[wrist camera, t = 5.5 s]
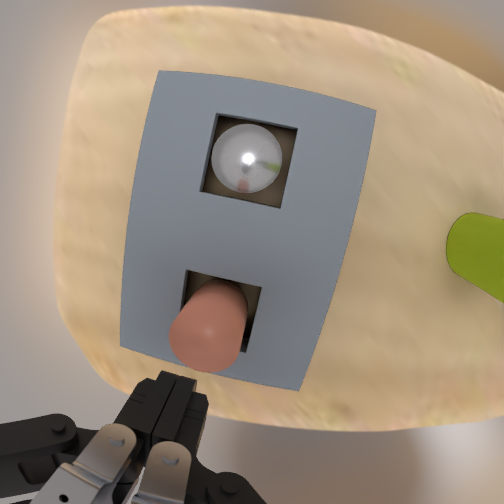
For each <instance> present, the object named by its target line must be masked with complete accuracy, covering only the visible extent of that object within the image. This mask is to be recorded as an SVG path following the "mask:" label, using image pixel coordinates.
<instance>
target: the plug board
mask: <svg viewBox="0 0 504 504" xmlns="http://www.w3.org/2000/svg"><path fill="white" fill-rule="evenodd" d="M218 115H220V116H227V117H233V118H239V119H244V120H250V121H255V122H261V123H266V124H271V125H276V126H280V127H285V128H289V129H294V130H297V134H296V139H295V143H294V148H293V153H292V157H291V162H290V166H289V171H288V175H287V180H286V184H285V189H284V193H283V198H282V202H281V207H280V208H278V207H274V206H269V205H265V204H260V203H256V202H251V201H247V200H242V199H237V198H232V197H228V196H223V195H218V194H213V193H208V192H203V191H202V190H203V185H204V180H205V175H206V170H207V165H208V160H209V156H210V151H211V146H212V142H213V137H214V133H215V128H216V124H217V120H218ZM375 116H376V110H373V109H370V108H367V107H364V106H361V105H358V104H354V103H351V102H348V101H344V100H341V99H337V98H334V97H330V96H326V95H322V94H318V93H314V92H310V91H306V90H302V89H297V88H293V87H288V86H283V85H278V84H273V83H268V82H262V81H256V80H250V79H244V78H237V77H229V76H222V75H213V74H203V73H192V72H179V71H160V70H159V72H158V75H157V79H156V82H155V86H154V90H153V93H152V97H151V101H150V105H149V109H148V113H147V118H146V122H145V126H144V131H143V135H142V140H141V145H140V150H139V155H138V160H137V166H136V171H135V177H134V183H133V189H132V196H131V202H130V210H129V217H128V225H127V233H126V243H125V253H124V264H123V277H122V293H121V316H120V346H122V347H125V348H127V349H130V350H133V351H136V352H139V353H142V354H145V355H149V356H152V357H155V358H158V359H161V360H165V361H168V362H171V363H175V364H178V365H182V366H185V367H188V366H186V365H185V364H183V363H182V362H181V361H180V360H179V359H178V358H177V357H176V356H175V354H174V353H173V351H172V349H171V346H170V343H169V330H170V327H171V325H172V323H173V321H174V320H175V319H176V317H177V316H178V314H179V313H180V312H181V310H182V309H183V304H184V297H185V290H186V283H187V277H188V270H191V271H195V272H199V273H203V274H207V275H211V276H215V277H220V278H224V279H228V280H233V281H237V282H241V283H246V284H250V285H254V286H259V287H262V289H261V293H260V297H259V301H258V305H257V310H256V314H255V318H254V322H253V326H252V330H251V334H250V338H249V339H246V338H242V342H241V347H240V351H239V355H238V357H237V359H236V360H235V362H234V363H233V364H232V365H231V366H229V367H228V368H226V369H224V370H222V371H218V372H210V373H212V374H216V375H220V376H224V377H228V378H233V379H237V380H242V381H246V382H251V383H256V384H261V385H266V386H271V387H277V388H282V389H288V390H294V391H299V390H300V387H301V385H302V382H303V379H304V377H305V374H306V371H307V369H308V366H309V363H310V361H311V358H312V355H313V352H314V349H315V347H316V344H317V341H318V338H319V335H320V332H321V329H322V326H323V323H324V320H325V317H326V314H327V311H328V308H329V305H330V302H331V299H332V295H333V292H334V289H335V286H336V282H337V279H338V276H339V272H340V269H341V265H342V262H343V258H344V255H345V251H346V247H347V244H348V240H349V236H350V232H351V228H352V225H353V221H354V217H355V213H356V209H357V204H358V200H359V196H360V192H361V187H362V183H363V178H364V174H365V169H366V164H367V159H368V154H369V149H370V144H371V139H372V133H373V128H374V122H375ZM189 368H190V367H189Z"/></svg>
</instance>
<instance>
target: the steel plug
mask: <svg viewBox="0 0 504 504" xmlns="http://www.w3.org/2000/svg"><path fill="white" fill-rule="evenodd" d="M281 165H282V151H281V147H280V145H279V143H278V141H277V139H276V138H275V137H274V135H273V134H271V133H270V132H269V131H268V130H266V129H265V128H263V127H260V126H258V125H254V124H241V125H237V126H234V127H231V128H230V129H228V130H226V131H225V132H224V133H223V134H222V135H221V136H220V137H219V138H218V139H217V141H216V143H215V145H214V147H213V151H212V167H213V170H214V173H215V175H216V176H217V178H218V179H219V181H220V182H221V183H222V184H223V185H225V186H226V187H227V188H229V189H231V190H233V191H236V192H240V193H253V192H257V191H260V190H262V189H264V188H266V187H268V186H269V185H271V184H272V183H273V182H274V181H275V180H276V178H277V176H278V174H279V172H280V169H281Z"/></svg>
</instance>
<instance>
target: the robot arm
mask: <svg viewBox="0 0 504 504" xmlns="http://www.w3.org/2000/svg"><path fill="white" fill-rule="evenodd" d="M196 385H197V380H195V379H191V378H187V377H184V376H179V375H176V374H173V373H169V372H166V371H163V370H162V371H161V372H160V374H159V376H158V377H157V379H156V381H155V380H152V379H149V378H146V379H144V380H143V381H141V382H139V383H138V384H137V386H136V387H135V389H134V391H133V393H132V394H131V395H130V397H129V399H128V400H127V402H126V403H125V405H124V406H123V408H122V410H121V411H120V413H119V414H118V416H117V418H116V419H115V421H114V423H113V424H108V425H105V426H103V427H102V428H101V429H100V430H89V429H83V428H77V427H76V425H75V423H74V421H73V420H72V419H71V418H70V417H68V416H66V415H63V414H50V415H46V416H41V417H36V418H32V419H26V420H21V421H16V422H10V423H4V424H0V498H5V497H11V496H16V495H21V494H27V493H31V492H36V491H39V492H38V494H37V495H36V496H35V497H34V499H32V500H24V501H20V502H16V503H12V504H126V503H127V501H128V500H129V498H130V496H131V494H132V492H133V491H134V489H135V487H136V485H137V483H138V481H139V475H140V473H141V470H142V468H143V467H145V470H144V473H143V476H142V480H141V483H140V487H139V489H138V492H137V494H135V495H134V496H133V498H132V501H131V504H266V503H265V501H264V500H263V499H262V498H261V497H260V496H259V494H258V493H257V492H256V491H255V490H254V489H253V487H252V486H251V485H250V484H249V482H248V481H247V480H246V479H245V478H243V477H242V476H240V475H238V474H236V473H232V472H221V473H215V472H213V471H211V470H209V469H207V468H206V467H204V466H203V465H202V464H201V463H200V462H199V461H198V459H197V457H196V454H197V451H198V447H199V443H200V440H201V436H202V433H203V430H204V425H205V420H206V415H207V410H208V405H209V403H208V400H207V396H206V395H205V394H201V393H197V392H195V391H196Z"/></svg>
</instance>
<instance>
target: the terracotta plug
mask: <svg viewBox="0 0 504 504" xmlns="http://www.w3.org/2000/svg"><path fill="white" fill-rule="evenodd" d="M247 315H248V302H247V299H246V297H245V295H244V293H243V292H242V291H241V290H240V289H239V288H238V287H237V286H235V285H234V284H232V283H230V282H227V281H223V280H212V281H208V282H205V283H204V284H202V285H201V286H199V287H198V288H197V290H196V291H195V292H194V294H193V295H192V296H191V298H190V299H189V301H188V302H187V303H186V305H185V306H184V307H183V309H182V310H181V312H180V313H179V314H178V316H177V317H176V319H175V320H174V321H173V323H172V325H171V327H170V330H169V343H170V346H171V349H172V351H173V353H174V354H175V356H176V357H177V358H178V359H179V360H180V361H181V362H182V363H183V364H185V365H186V366H188V367H190V368H192V369H194V370H197V371H201V372H208V373H210V372H218V371H222V370H224V369H226V368H228V367H229V366H231V365H232V364H233V363H234V362H235V360H236V359H237V357H238V355H239V351H240V347H241V342H242V338H243V333H244V329H245V324H246V320H247Z"/></svg>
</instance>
